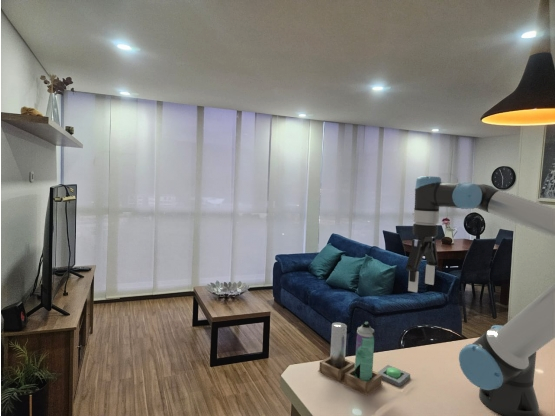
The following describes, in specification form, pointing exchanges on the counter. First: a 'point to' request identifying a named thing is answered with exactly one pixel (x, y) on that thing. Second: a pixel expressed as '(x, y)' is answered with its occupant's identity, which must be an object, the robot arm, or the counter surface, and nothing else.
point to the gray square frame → (397, 382)
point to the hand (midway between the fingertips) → (421, 287)
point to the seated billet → (338, 345)
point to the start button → (393, 372)
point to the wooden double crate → (350, 376)
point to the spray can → (364, 352)
